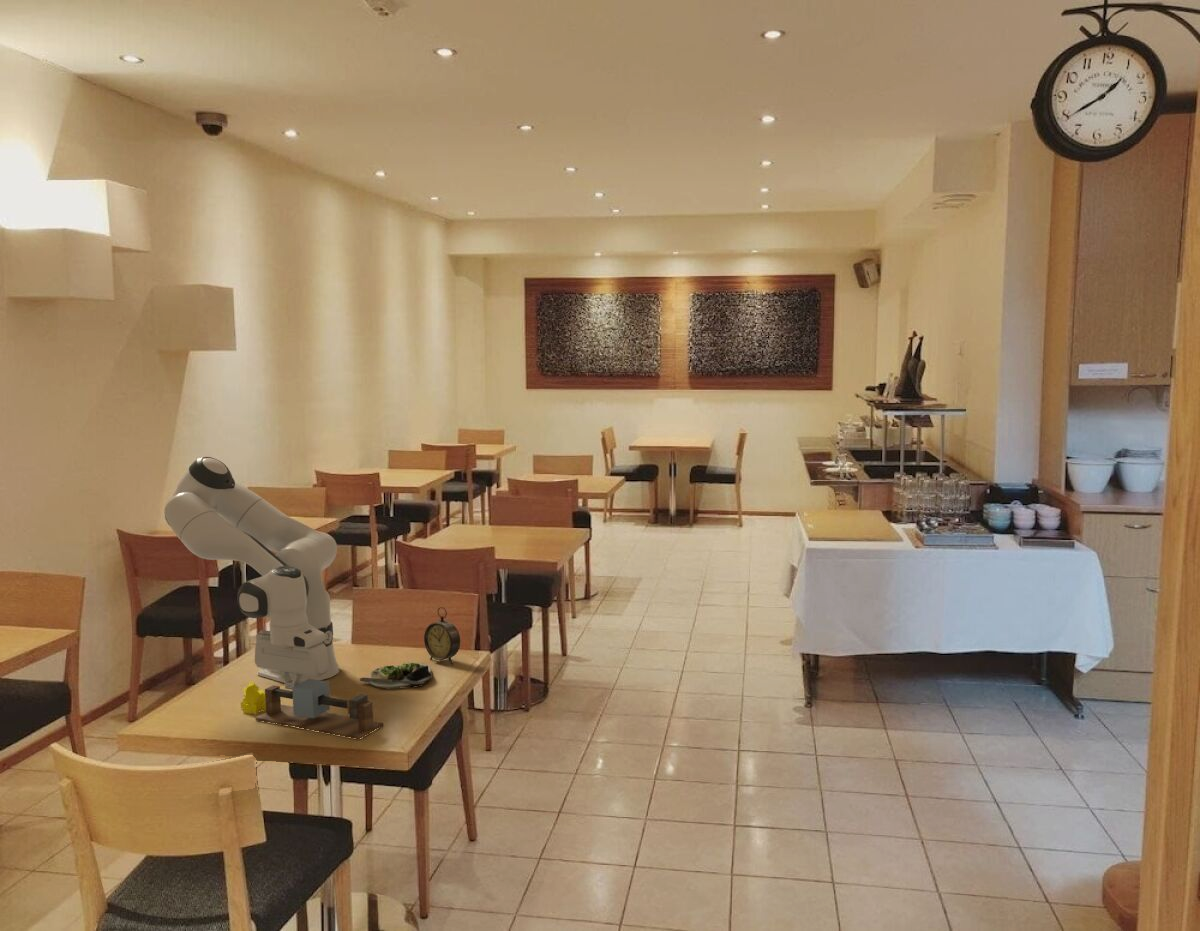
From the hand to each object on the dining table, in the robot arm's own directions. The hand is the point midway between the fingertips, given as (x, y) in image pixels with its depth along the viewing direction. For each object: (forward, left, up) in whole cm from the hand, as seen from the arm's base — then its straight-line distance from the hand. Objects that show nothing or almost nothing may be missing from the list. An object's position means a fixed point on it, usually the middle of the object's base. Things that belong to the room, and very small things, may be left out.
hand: (292, 688), depth 228 cm
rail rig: (+8, 0, -8) cm, 11 cm away
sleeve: (+6, 0, -5) cm, 8 cm away
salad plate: (+9, +34, -8) cm, 36 cm away
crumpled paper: (-13, +2, -8) cm, 16 cm away
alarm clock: (+11, +50, -8) cm, 52 cm away
